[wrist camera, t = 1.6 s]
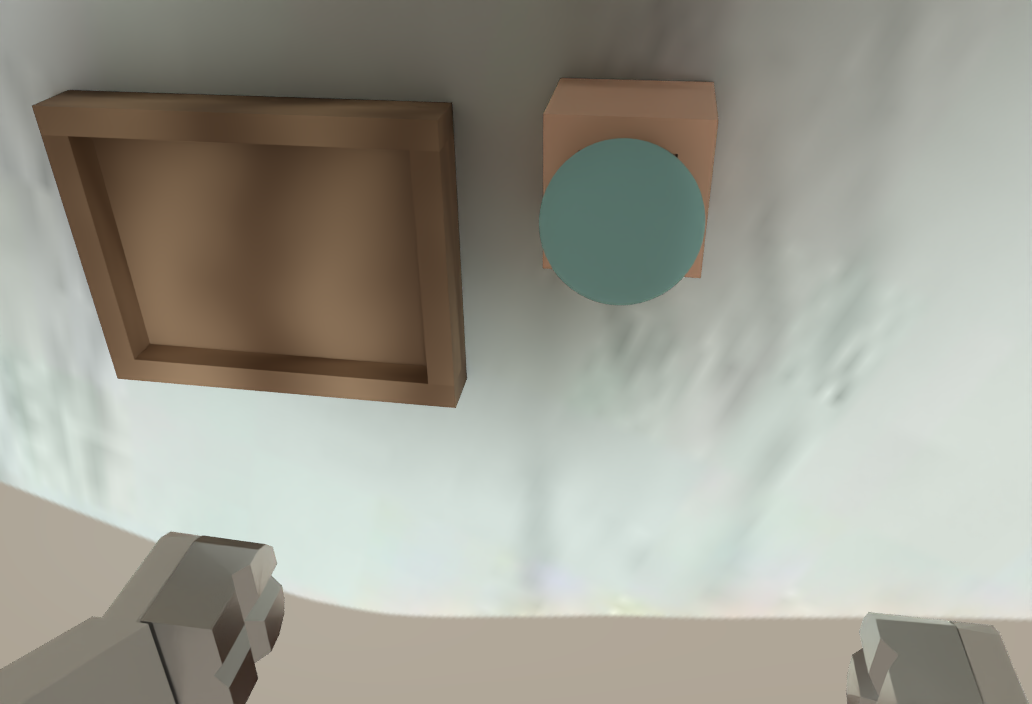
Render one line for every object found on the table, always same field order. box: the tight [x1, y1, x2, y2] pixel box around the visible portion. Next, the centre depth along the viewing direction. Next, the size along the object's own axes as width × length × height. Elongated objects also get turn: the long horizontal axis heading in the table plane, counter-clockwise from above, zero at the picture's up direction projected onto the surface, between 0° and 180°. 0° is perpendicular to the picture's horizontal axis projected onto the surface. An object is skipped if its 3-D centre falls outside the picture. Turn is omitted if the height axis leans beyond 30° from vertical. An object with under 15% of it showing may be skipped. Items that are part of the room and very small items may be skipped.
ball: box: [539, 138, 705, 305], centre depth 23 cm, size 4×4×4 cm
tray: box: [32, 90, 467, 408], centre depth 31 cm, size 14×11×2 cm
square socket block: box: [543, 78, 718, 278], centre depth 26 cm, size 5×5×4 cm
